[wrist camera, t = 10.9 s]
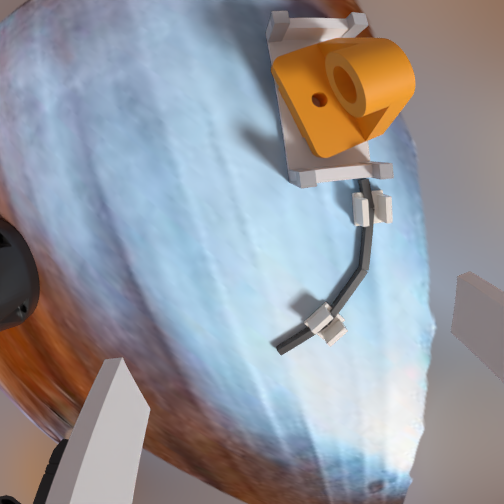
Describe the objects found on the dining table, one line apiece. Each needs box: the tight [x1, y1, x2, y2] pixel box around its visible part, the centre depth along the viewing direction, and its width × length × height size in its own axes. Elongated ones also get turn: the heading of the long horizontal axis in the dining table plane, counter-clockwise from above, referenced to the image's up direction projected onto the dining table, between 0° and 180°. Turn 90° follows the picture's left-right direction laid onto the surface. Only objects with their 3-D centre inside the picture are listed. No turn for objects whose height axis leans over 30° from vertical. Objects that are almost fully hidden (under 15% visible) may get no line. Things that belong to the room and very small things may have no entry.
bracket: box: [271, 38, 415, 158], centre depth 22 cm, size 11×7×12 cm
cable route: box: [277, 178, 392, 355], centre depth 33 cm, size 6×23×3 cm, turn 157°
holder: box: [266, 11, 394, 188], centre depth 26 cm, size 9×17×6 cm, turn 8°
